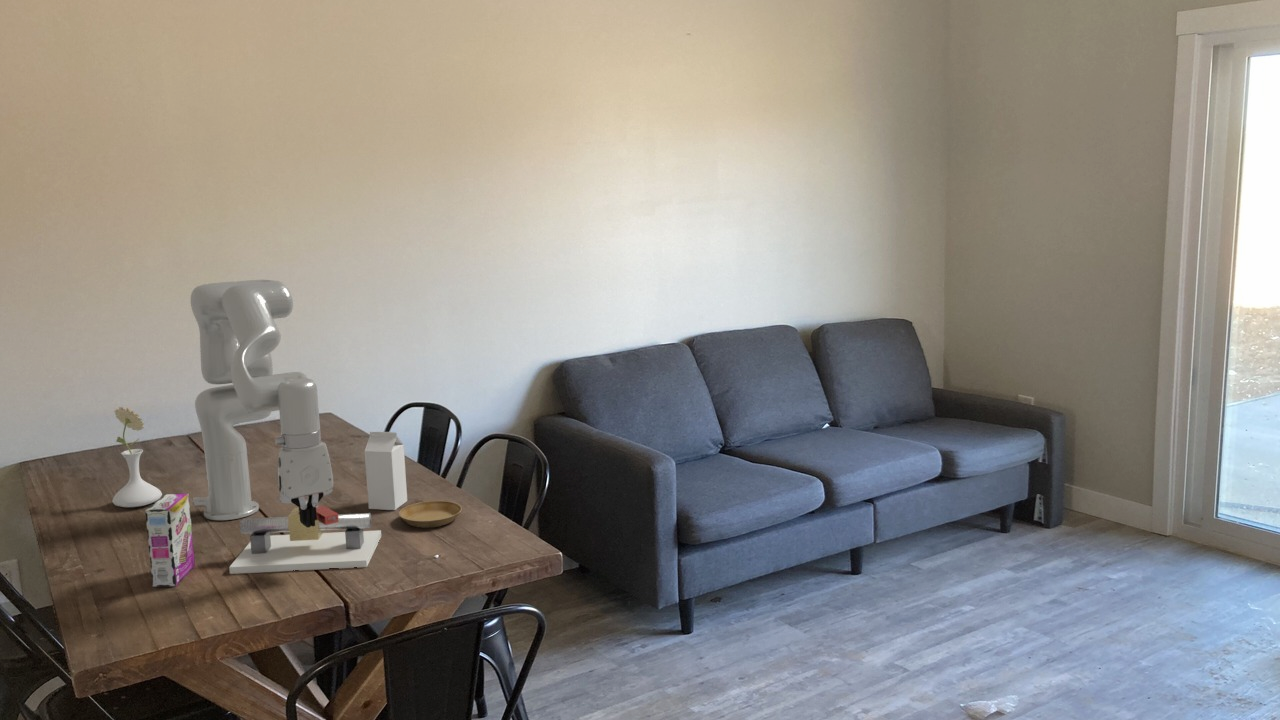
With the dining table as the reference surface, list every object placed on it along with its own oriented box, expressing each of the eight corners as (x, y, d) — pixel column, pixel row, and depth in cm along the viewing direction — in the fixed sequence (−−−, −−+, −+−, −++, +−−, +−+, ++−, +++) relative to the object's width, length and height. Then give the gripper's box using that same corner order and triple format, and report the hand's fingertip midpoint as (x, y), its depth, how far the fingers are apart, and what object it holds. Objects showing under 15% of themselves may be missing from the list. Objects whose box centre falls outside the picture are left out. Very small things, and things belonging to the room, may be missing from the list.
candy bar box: (177, 587, 200) (169, 509, 197) (152, 588, 200) (143, 510, 196) (197, 565, 211) (189, 492, 208) (173, 567, 210) (164, 493, 207)
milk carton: (395, 510, 243) (390, 436, 240) (368, 509, 245) (363, 435, 241) (407, 501, 250) (402, 428, 247) (381, 500, 251) (376, 427, 248)
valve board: (229, 573, 206) (229, 567, 206) (255, 542, 224) (254, 536, 223) (366, 567, 208) (366, 560, 208) (381, 536, 226) (380, 530, 226)
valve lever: (325, 525, 203) (325, 516, 203) (296, 508, 214) (295, 500, 214) (338, 521, 205) (338, 513, 205) (309, 505, 216) (308, 497, 215)
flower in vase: (170, 502, 253) (159, 407, 248) (123, 514, 244) (111, 416, 240) (149, 492, 261) (139, 400, 257) (103, 503, 253) (91, 408, 249)
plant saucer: (408, 510, 244) (408, 500, 244) (468, 510, 244) (467, 500, 243) (391, 531, 230) (391, 521, 229) (454, 531, 229) (454, 520, 229)
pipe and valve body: (240, 555, 212) (236, 515, 210) (248, 546, 217) (245, 507, 216) (369, 549, 214) (366, 509, 212) (373, 540, 220) (371, 501, 218)
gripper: (270, 449, 194) (278, 538, 197) (344, 436, 203) (350, 521, 206) (258, 442, 200) (266, 528, 203) (330, 429, 209) (336, 512, 212)
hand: (308, 524), depth 205 cm, fingers closed
